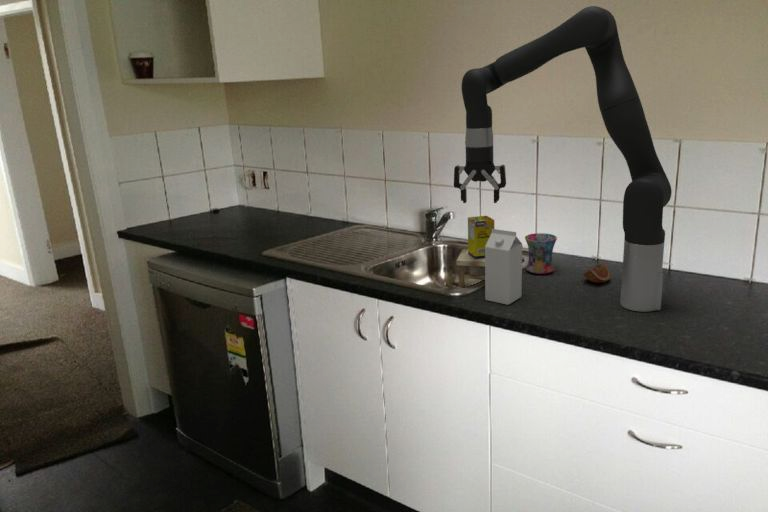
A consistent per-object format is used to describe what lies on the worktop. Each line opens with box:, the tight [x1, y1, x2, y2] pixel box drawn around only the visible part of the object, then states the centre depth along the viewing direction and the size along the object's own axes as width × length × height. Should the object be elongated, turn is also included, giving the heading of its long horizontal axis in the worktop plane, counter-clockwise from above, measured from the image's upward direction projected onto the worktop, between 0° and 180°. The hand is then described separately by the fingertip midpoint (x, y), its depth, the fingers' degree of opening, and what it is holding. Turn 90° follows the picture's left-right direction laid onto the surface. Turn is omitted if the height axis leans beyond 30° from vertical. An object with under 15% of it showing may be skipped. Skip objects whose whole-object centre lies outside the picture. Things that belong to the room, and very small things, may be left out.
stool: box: [456, 248, 485, 288], centre depth 186 cm, size 12×12×8 cm
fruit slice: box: [582, 262, 611, 284], centre depth 181 cm, size 8×7×5 cm
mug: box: [524, 232, 558, 275], centre depth 193 cm, size 12×9×11 cm
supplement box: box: [467, 215, 495, 259], centre depth 183 cm, size 6×6×11 cm
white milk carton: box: [484, 228, 523, 306], centre depth 170 cm, size 7×7×19 cm
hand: (480, 202), depth 180 cm, fingers open, 8 cm apart
